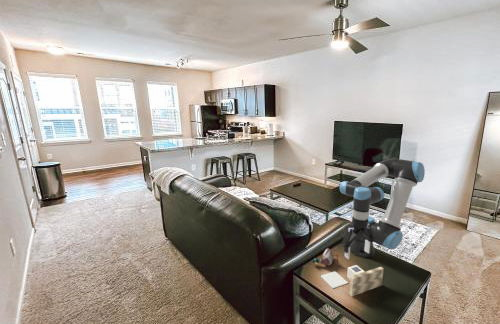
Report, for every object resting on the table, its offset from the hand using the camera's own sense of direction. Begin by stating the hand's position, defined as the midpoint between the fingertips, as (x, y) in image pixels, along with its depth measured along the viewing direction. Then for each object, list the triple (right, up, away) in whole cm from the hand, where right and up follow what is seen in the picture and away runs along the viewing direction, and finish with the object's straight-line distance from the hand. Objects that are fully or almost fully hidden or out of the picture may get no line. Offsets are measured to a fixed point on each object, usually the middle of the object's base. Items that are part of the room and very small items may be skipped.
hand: (357, 254), depth 124 cm
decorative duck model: (-12, -12, +18) cm, 25 cm away
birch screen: (+3, -16, -4) cm, 17 cm away
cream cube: (+1, -15, +3) cm, 15 cm away
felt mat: (-11, -15, +3) cm, 19 cm away
